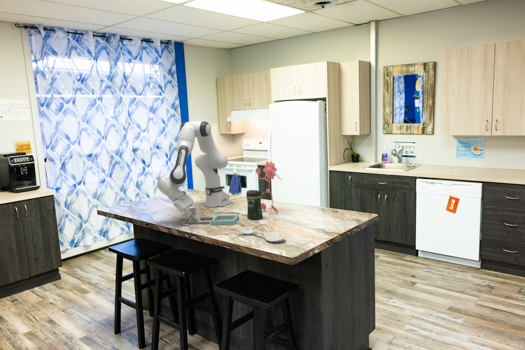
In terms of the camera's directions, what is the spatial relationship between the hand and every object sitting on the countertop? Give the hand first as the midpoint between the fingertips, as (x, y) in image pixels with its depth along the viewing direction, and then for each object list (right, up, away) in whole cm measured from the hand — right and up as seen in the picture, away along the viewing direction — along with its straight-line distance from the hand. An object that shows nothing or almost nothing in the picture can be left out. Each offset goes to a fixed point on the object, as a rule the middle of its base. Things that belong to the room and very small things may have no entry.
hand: (193, 211), depth 262 cm
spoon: (+44, -11, -39) cm, 59 cm away
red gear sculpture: (+51, -2, +19) cm, 55 cm away
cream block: (+1, -7, +1) cm, 7 cm away
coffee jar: (+40, -5, +3) cm, 40 cm away
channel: (+3, -7, +1) cm, 7 cm away
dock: (+21, -6, -2) cm, 22 cm away
